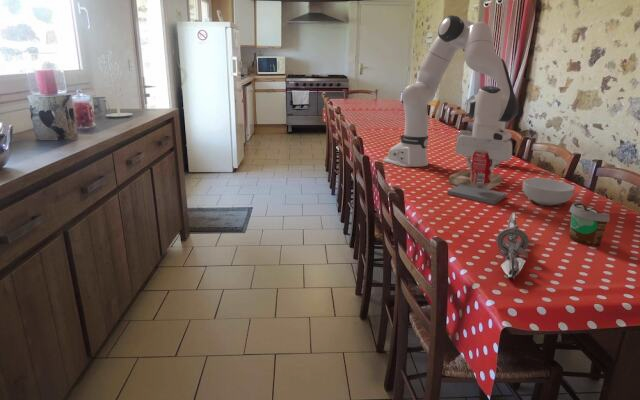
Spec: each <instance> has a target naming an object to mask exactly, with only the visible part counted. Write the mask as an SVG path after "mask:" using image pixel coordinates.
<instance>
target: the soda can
mask: <svg viewBox="0 0 640 400" xmlns="http://www.w3.org/2000/svg"><path fill="white" fill-rule="evenodd" d="M471 159H472V160H471V163H472V168H470V170H471V179H470V181H471V183H472V184H474V185H477V186H486V185H488V184H489V183H490V179H491V174H492V171H490V167H491V166H492V159H489V155H488V152H479V151H476V150H475V153H474V154H473V157H472V158H471Z"/></svg>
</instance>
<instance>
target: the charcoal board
mask: <svg viewBox="0 0 640 400" xmlns="http://www.w3.org/2000/svg"><path fill="white" fill-rule="evenodd" d="M448 194H449V196H453V195H454V196H453V197H457V196H458V198H463V199H466V200H471V201H472V200H473V201H477V202H481V203H485V204H490V205H496V204H497V203H499V202H500V201H502V200H503V199H505V198H506V197H507V193H506V192H501V191H496V190H492V189H490V190H487V189H482V188H477V187H472V186H467V185H462V184H460V185H458V186H456V185H455V186H454V187H453V188H450V189H448V190H447V195H448Z"/></svg>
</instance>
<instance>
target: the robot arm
mask: <svg viewBox="0 0 640 400" xmlns="http://www.w3.org/2000/svg"><path fill="white" fill-rule="evenodd" d="M437 33H438V35H437V36H436V37H435V39H434V41H433V43H432V44H431V46H430V48H429V50H428V51H427V53H426V55H425V57H424V59H423V60H422V63H421V64H420V69H419V72H418V76H417V79H416V81H415V82H414V83H410V84H408V85H407V86H406V87H405V88H404V89H403V90H402V93H401V101H402V103H403V109H404V119H405V120H404V121H405V122H404V133H403V135H400V136H399V138H398V139H400V141H399V142H398V143H396V144H395V145H394V146H392V147H391V148H390V149H389V150H388V154H387V156H386V157H384V158H383V159H382V161H383V162H384V163H387V164H392V165H396V166H400V167H404V168H406V167H407V168H408V167H413V168H414V167H415V168H419V167H421V168H422V167H425V166H428V165H429V162H428V161H429V159H428V150H427V149H428V144H429V135H428V134H429V133H428V132H429V122H430V121H429V116H428V108H427V107H428V105H429V104H431V102H432V101H433V100H434V98H435V97H436V94H437V92H438V89H439V86H440V84H441V80H442V78H443V76H444V74H445V73H446V71H447V69H448V67H449V65H450V64H451V62H452V60H453V57H454V56H455V54H456V52H457V51H458V50H461V49H462V50H463V53H464V60H465V61H464V62H465V64H466V65H467V67H468V68H469V69H471V70H472V71H473V72H476V73H480V74H483V75H486V76H489V77H490V78H492V79H494V81H495V83H496V85H497V86H492V85H491V86H489V85H487V86H485V85H484V86H481V87H479V89H478V92H477V94H473V95H472V96H470V97H469V98H468V99H467V100H466V106H465V107H466V108H465V115H466V116H467V117H468V118H469V119H470V120H474V121H473V124H472V130H464V129H461V130H460V131H458V132H457V134H456V140H457V141H456V143H455V148H454V152H455V153H456V155H460V156H465V160H466V163H467V169H468V168H470V169H472V160H471V159H472V158H473V154H474V153H475V150H476V151H479V152H488V155H489V159H492V162H493V164H492V166H491V167H490V171H491V172H494V170H495V166H497V165H496V164H497V163H498V160H499V161H500V162H508V161H510V160H511V159H512V157H513V142H512V140H511V138H512V136H513V135H512V133H511V132H509V131H506V130H505V129H504V130H502V129H500V128H499V121H501V122H505V123H509V122H510V121H512V120H513V119H514V118H515V117H517V115H518V114H519V109H520V108H519V107H520V106H519V100H518V97H517V95H516V94H515V92H514V89H513V84H512V80H511V76H510V73H509V71H508V67H507V64H506V61H505V60H504V59H503V58H502V57H500V56H499V55H498V53H497V51H496V50H495V45H494V44H495V43H494V38H493V37H494V36H493V33H492V30H491V27H490V26H489V24H488V23H487V22H484V21H477V22H474V21H471V20H468V19H465V18H461V17H459V15H458V16H457V15H447V16H446V17H444V18H443V19H442V21H441V22H440V24H439V26H438V29H437Z"/></svg>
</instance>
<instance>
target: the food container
mask: <svg viewBox="0 0 640 400" xmlns="http://www.w3.org/2000/svg"><path fill="white" fill-rule="evenodd" d="M569 212H570V213H571V217H570V226H569V239H570V240H571V241H573V242H576V243H578V244H581V245H585V244H586V245H585V246H590V245H595V246H594V247H600V245H601V242H602V239H603V237H604V233H605V230H606V227H607V224H608V223H609V222H610V215H611V214H610V213H601V212H600V211H598V210H597V209H595V208H593V207H589V206H587V205H585V204H583V200H579V201H575V202H572V205H570V208H569Z"/></svg>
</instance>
